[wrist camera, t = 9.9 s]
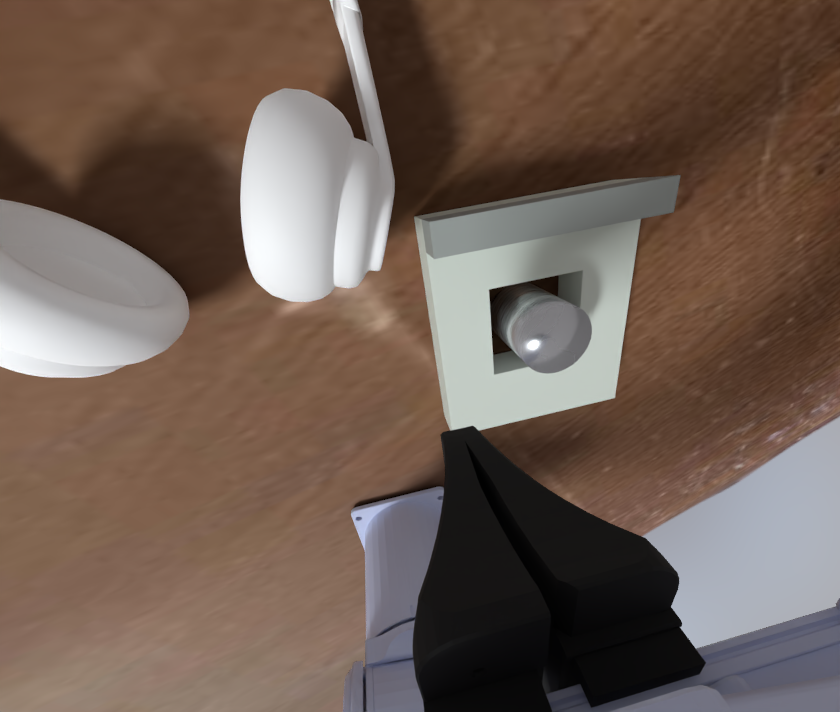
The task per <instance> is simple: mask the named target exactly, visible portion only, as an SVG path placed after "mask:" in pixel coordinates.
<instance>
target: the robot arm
mask: <svg viewBox="0 0 840 712" xmlns="http://www.w3.org/2000/svg"><path fill="white" fill-rule="evenodd" d="M441 441H442V448H443V455H444V463H445V481H444V488H443V487H441V486H439V487H434V488H430V489H426V490H422V491H418V492H414V493H410V494H406V495H402V496H398V497H394V498H390V499H386V500H382V501H378V502H374V503H370V504H366V505H362V506H358V507H355V508H353V509H352V511H351V516H352V519H353V521H354V524H355V527H356V529H357V532H358V534H359V537H360V539H361V542H362V545H363V547H364V550H365V584H366V641H365V667H363V661H356V662H354V663H353V666H352V669H350V671H349V672H348V674H347V675H346V677H345V683H344V700H343V712H840V599H839V600H838V602H837V603H836V607H833V608H829V609H826V610H823V611H819V612H816V613H813V614H809V615H806V616H803V617H800V618H796V619H793V620H790V621H787V622H783V623H780V624H777V625H773V626H770V627H766V628H763V629H760V630H756V631H754V632H750V633H747V634H743V635H740V636H737V637H734V638H730V639H727V640H724V641H720V642H717V643H714V644H710V645H707V646H704V647H700V648H697V649H695V647H694V646H693V645H692V643H691V642H690V640H689V639H688V638H687V637H686V635H685V634H684V632H683V631H682V630H681V628H680V627H681V626H682V622H681V620H680V619H679V617H678V616H677V615H676V613H675V612H674V611H673V609H672V608H671V605H672V602H673V600H674V597H675V595H676V592H677V590H678V585H679V577H678V574H677V572H676V571H675V570H674V568H673V567H672V566H671V565H670V564H669V563H668V561H667V560H666V559H665V558H664V557H663V556H662V555H661V553H660V552H658V550H657V549H656V548H655V547H654V546H653V545H651V543H650V542H649V541H648V540H647V539H646V538H643V537H641V536H639V535H636V534H634V533H632V532H629V531H627V530H624V529H622V528H620V527H617V526H615V525H613V524H610V523H608V522H606V521H604V520H602V519H600V518H598V517H596V516H594V515H592V514H590V513H588V512H586V511H584V510H582V509H581V508H579V507H577V506H575V505H573V504H572V503H570V502H568V501H566V500H564V499H563V498H561V497H560V496H558V495H556V494H555V493H553V492H552V491H550V490H548V489H547V488H546V487H544V486H543V485H541V484H540V483H538V482H537V481H535V480H534V479H533V478H531V477H530V476H529V475H527V474H526V473H525V472H523V471H522V470H521V469H520V468H518V467H517V466H516V465H515V464H513V463H512V462H511V461H510V460H509V459H508V458H506V457H505V456H504V455H503V454H502V453H501V452H500V451H499V450H497V449H496V448H495V447H494V446H493V445H492V444H491V443H490V442H489V441H488V440H487V439H486V438H485V437H484V436H483V435H482V434H481V433H480V432H479V431H478V430H477V429H476V427H474V426H469V427H465V428H460V429H456V430H451V431H447V432H443V433H442V434H441Z"/></svg>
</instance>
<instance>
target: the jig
mask: <svg viewBox="0 0 840 712" xmlns="http://www.w3.org/2000/svg"><path fill="white" fill-rule="evenodd" d="M680 176H681V175H675V176H660V177H646V178H632V179H617V180H609V181H604V182H599V183H593V184H588V185H582V186H577V187H572V188H566V189H561V190H555V191H550V192H544V193H539V194H534V195H528V196H523V197H517V198H512V199H506V200H501V201H496V202H490V203H485V204H479V205H474V206H469V207H463V208H458V209H452V210H447V211H441V212H436V213H431V214H425V215H420V216H414V220H415V227H416V233H417V240H418V246H419V253H420V259H421V266H422V272H423V279H424V285H425V292H426V299H427V305H428V312H429V318H430V325H431V331H432V338H433V344H434V351H435V357H436V364H437V370H438V377H439V383H440V390H441V397H442V403H443V410H444V416H445V418H446V421H447V423H448V426H449V428H450V431H451V430H456V429H460V428H465V427H469V426H474V427H476V429H477V430H478V431H479V430H483V429H487V428H491V427H496V426H500V425H504V424H508V423H512V422H516V421H521V420H525V419H529V418H533V417H537V416H542V415H546V414H550V413H554V412H558V411H562V410H567V409H571V408H575V407H579V406H583V405H587V404H592V403H596V402H600V401H604V400H608V399H612V398H615V393H616V386H617V379H618V372H619V365H620V359H621V352H622V345H623V338H624V331H625V324H626V317H627V310H628V304H629V297H630V290H631V283H632V276H633V269H634V262H635V255H636V249H637V242H638V235H639V228H640V221H641V219H642V218H647V217H652V216H657V215H662V214H667V213H673V212H674V208H675V203H676V197H677V192H678V186H679V181H680ZM557 275H559V280H558V297H559V298H561V299H563V300H565V301H567V302H569V303H571V304H573V305H575V306H577V307H579V308H581V309H582V310H584V311H585V312H586V314H587V315H588V316H589V319H590V321H591V325H592V335H591V340H590V343H589V345H588V347H587V349H586V351H585V352H584V354H583V355H582V356H581V357H580V359H579V360H578V361H576V362H575V363H574V364H573V365H571V366H570V367H568V368H566V369H564V370H562V371H559V372H556V373H549V374H546V373H539V372H536V371H534V370H532V369H531V368H530V367H529V366H528V365H527V364H526V363H525V362H524V361H523V360H522V359H521V358H520V357H519V356H518V355H517V354H516V353H515V352H514V351H509V352H504V353H500V354H495V355H493V348H492V331H491V315H490V298H489V289H494V288H498V287H503V286H508V285H513V284H518V283H523V282H528V281H532V280H537V279H542V278H547V277H552V276H557Z"/></svg>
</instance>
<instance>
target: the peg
mask: <svg viewBox="0 0 840 712" xmlns="http://www.w3.org/2000/svg"><path fill="white" fill-rule="evenodd" d="M490 315H491V328H492V330H493V331H494V332H495V333H496V334H497V335H498V336H499V337H500V338H501V339H502V340H503V341H504V342H505V343H506V344H507V345H508V346H509V347H510V348H511V349H512V350H513V351H514V352H515V353H516V354H517V355H518V356H519V357H520V358H521V359H522V360H523V361H524V362H525V363H526V364H527V365H528V366H529V367H530V368H531V369H532V370H534V371H536V372H539V373H546V374H549V373H556V372H559V371H562V370H564V369H566V368H568V367H570V366H571V365H573V364H574V363H575V362H576V361H578V360H579V359H580V357H581V356H582V355H583V354H584V352H585V351H586V349H587V347H588V345H589V343H590V340H591V335H592V325H591V321H590V319H589V316H588V315H587V314H586V312H585V311H584V310H582V309H581V308H579V307H577V306H575V305H573V304H571V303H569V302H567V301H565V300H563V299H561V298H559V297H557V296H555V295H553V294H551V293H549V292H547V291H545V290H543V289H541V288H539V287H537V286H535V285H533V284H531V283H527V282H523V283H518V284H513V285H508V286H506V287H505V288H503V289H502V290H501V291H500V292H499V293H498V294H497V295H496V296H495V297H494V299H493V301H492V303H491V305H490Z"/></svg>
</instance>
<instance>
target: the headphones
mask: <svg viewBox="0 0 840 712" xmlns="http://www.w3.org/2000/svg"><path fill="white" fill-rule="evenodd" d="M329 1H330V3H331V6H332V10H333V13H334V17H335V21H336V24H337V27H338V30H339V33H340V36H341V39H342V41H343V44H344V47H345V51H346V55H347V59H348V64H349V68H350V72H351V76H352V80H353V85H354V89H355V93H356V97H357V101H358V106H359V110H360V114H361V118H362V123H363V127H364V131H365V136H366V140H367V142H366V141H363V140H360V139H356V138H354V135H353V132H352V129H351V126H350V125H349V123H348V122H347V120H346V118H345V117H344V115H343V113H342V112H340V111H339V110H338V109H337V108H336V107H335V106H333V105H332V104H331V103H330V102H329V101H327V100H325V99H323V98H321V97H319V96H317V95H315V94H313V93H311V92H308V91H305V90H296V89H287V88H283V89H281V90H279V91H277V92H275V93H272V94H270V95H268V96H266V97H265V98H263V99H262V101H261V102H260V103H259V105H258V107H257V109H256V111H255V113H254V116H253V119H252V122H251V125H250V128H249V132H248V137H247V141H246V147H245V152H244V158H243V166H242V175H241V194H240V205H241V224H242V233H243V240H244V247H245V252H246V257H247V261H248V264H249V268H250V270H251V273H252V275H253V277H254V279H255V280H256V282H257V283H258V284H259V285H260V286H262V287H263V288H264V289H265V290H266V291H268V292H269V293H270V294H271V295H273V296H276V297H279V298H282V299H285V300H288V301H294V302H310V301H314V300H319V299H322V298H324V297H325V296H327V295H328V294H330V293H331V292H332V291H333V289H334V288H335V287H336V286H337V287H343V288H353V287H357V286H358V285H359V284H360V282H361V281H362V280H363V278H364V276H365V274H366V273H367V272H368V271H369V270H373V271H379V270H380V269H381V266H382V262H383V257H384V252H385V247H386V242H387V236H388V231H389V225H390V219H391V213H392V206H393V199H394V192H395V179H394V173H393V168H392V162H391V157H390V152H389V147H388V143H387V138H386V134H385V129H384V125H383V120H382V115H381V111H380V106H379V102H378V97H377V93H376V88H375V84H374V79H373V75H372V70H371V66H370V61H369V57H368V53H367V48H366V44H365V39H364V35H363V20H362V14H361V11H360V8H359V5H358V1H357V0H329ZM188 319H189V306H188V300H187V296H186V294H185V292H184V291H183V289H182V288H181V286H180V285H179V284H178V282H177V281H176V280H175V279H174V278H173V277H172V276H171V275H170V274H169V273H168V272H167V271H165V270H164V269H163V268H162V267H161V266H159V265H158V264H157V263H155V262H154V261H153V260H151V259H150V258H148V257H147V256H145V255H144V254H142V253H141V252H139V251H138V250H136V249H134V248H133V247H131V246H129V245H127V244H126V243H124V242H122V241H120V240H118V239H117V238H115V237H113V236H111V235H109V234H107V233H105V232H102V231H100V230H98V229H96V228H94V227H92V226H89V225H87V224H84V223H82V222H80V221H77V220H75V219H72V218H69V217H67V216H64V215H61V214H58V213H55V212H52V211H49V210H46V209H42V208H39V207H35V206H31V205H27V204H23V203H19V202H14V201H8V200H2V199H0V366H1V367H4V368H7V369H9V370H13V371H16V372H20V373H24V374H28V375H34V376H41V377H68V378H79V377H93V376H99V375H103V374H107V373H110V372H113V371H115V370H117V369H119V368H121V367H123V366H125V365H128V364H133V363H138V362H141V361H144V360H147V359H149V358H151V357H153V356H155V355H157V354H159V353H161V352H163V351H165V350H166V349H167V348H169V347H170V346H171V345H172V344H173V343H174V342H175V341H176V340H177V339H178V338H179V337H180V336H181V334H182V333H183V331H184V329H185V326H186V324H187V322H188Z"/></svg>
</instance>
